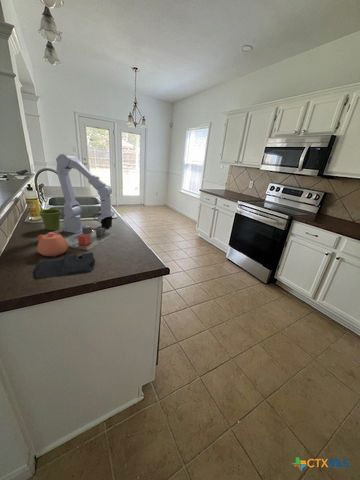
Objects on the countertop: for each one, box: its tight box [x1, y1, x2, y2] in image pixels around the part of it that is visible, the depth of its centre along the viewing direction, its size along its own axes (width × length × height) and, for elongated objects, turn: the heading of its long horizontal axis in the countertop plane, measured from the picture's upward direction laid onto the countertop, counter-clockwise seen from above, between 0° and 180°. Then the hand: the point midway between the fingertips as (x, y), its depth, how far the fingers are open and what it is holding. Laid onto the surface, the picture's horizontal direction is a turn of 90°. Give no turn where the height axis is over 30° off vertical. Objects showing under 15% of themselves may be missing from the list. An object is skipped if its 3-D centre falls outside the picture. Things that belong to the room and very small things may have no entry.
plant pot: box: [37, 208, 62, 231], centre depth 124 cm, size 12×12×11 cm
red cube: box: [78, 234, 90, 245], centre depth 104 cm, size 4×4×4 cm
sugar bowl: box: [37, 231, 69, 257], centre depth 94 cm, size 12×14×10 cm
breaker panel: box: [64, 229, 114, 252], centre depth 113 cm, size 18×24×2 cm
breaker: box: [81, 225, 92, 234], centre depth 119 cm, size 3×4×4 cm
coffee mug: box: [92, 210, 113, 229], centre depth 137 cm, size 12×9×10 cm
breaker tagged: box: [95, 227, 106, 236], centre depth 117 cm, size 3×4×4 cm
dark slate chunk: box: [34, 251, 96, 280], centre depth 84 cm, size 15×22×5 cm
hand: (107, 228), depth 123 cm, fingers closed
